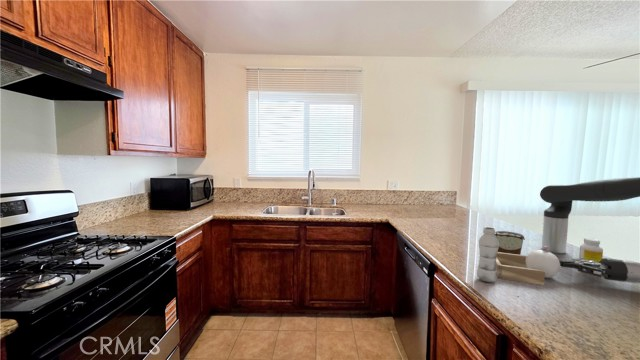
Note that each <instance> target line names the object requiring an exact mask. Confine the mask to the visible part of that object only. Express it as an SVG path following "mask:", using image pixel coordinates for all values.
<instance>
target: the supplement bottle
mask: <svg viewBox="0 0 640 360" xmlns="http://www.w3.org/2000/svg"><path fill="white" fill-rule="evenodd" d="M600 245H601V240H600V239H596V238H591V237H584V238H583V243H581V244H580V245H579V257H578V258H584V259H585V260H586V261H589V260H593V261H596V262H600V261H601V259H603V255H604V249H603V247H601V246H600Z"/></svg>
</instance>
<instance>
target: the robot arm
mask: <svg viewBox="0 0 640 360" xmlns="http://www.w3.org/2000/svg"><path fill="white" fill-rule="evenodd" d="M539 196H540V199H541V200H543V202H545V203H548V204H550V206H549V207H548V208H546V209H545V210H543V219H542V220H543V222H542V235H541V237H542V238H541V250H542V249H543V247H544V246H547V247H548V249H549V252H550V253H553V254H566V253H567V243H568V241H567V240H568V231H569V230H568V228H569V215H570V214H571V212H572V209H573V208H572V207H573V202H576V201H577V202H579V201H580V202H619V201H626V200H630V199H636V198H640V176H636V177H635V176H632V177H631V176H630V177H617V178H607V179H598V180H591V181H585V182H579V183H575V184H566V185H565V184H551V185H546V186H544V187H543V188H542V189H541V190H540V192H539ZM558 260H559V262H560V268H567V269H568V268H570V269H573V270H577V271H578V272H581V273H585V274H588V275H592V276H595V277H600V278H601V277H602V278H603V279H605V280H606V281H607V280H608V281H613V282H614V281H615V282H621V283H629V284H640V262H636V261H632V260H627V259H626V260H625V259H618V258H607V257H605V258H602V259H601V261H600V262H596V261H593V260H589V261H586V260H585V259H584V258H579V257H577V258H571V260H567V259H565V260H564V259H558Z"/></svg>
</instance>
